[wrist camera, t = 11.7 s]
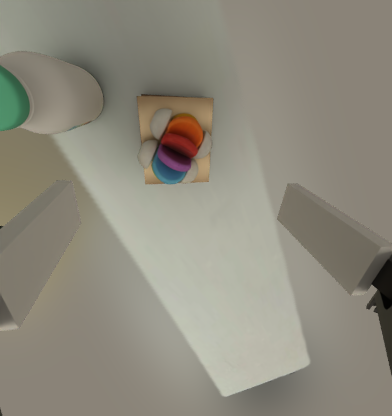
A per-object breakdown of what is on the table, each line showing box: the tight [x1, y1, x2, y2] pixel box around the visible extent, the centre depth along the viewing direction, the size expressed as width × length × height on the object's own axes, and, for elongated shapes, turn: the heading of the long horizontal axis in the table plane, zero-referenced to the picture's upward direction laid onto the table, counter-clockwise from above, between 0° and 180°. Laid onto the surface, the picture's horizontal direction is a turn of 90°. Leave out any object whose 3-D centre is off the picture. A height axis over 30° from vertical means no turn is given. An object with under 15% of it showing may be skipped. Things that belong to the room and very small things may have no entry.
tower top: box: [137, 96, 213, 184], centre depth 32 cm, size 12×10×4 cm
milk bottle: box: [0, 51, 103, 134], centre depth 23 cm, size 8×8×20 cm
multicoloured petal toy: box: [138, 108, 212, 184], centre depth 27 cm, size 8×10×7 cm
